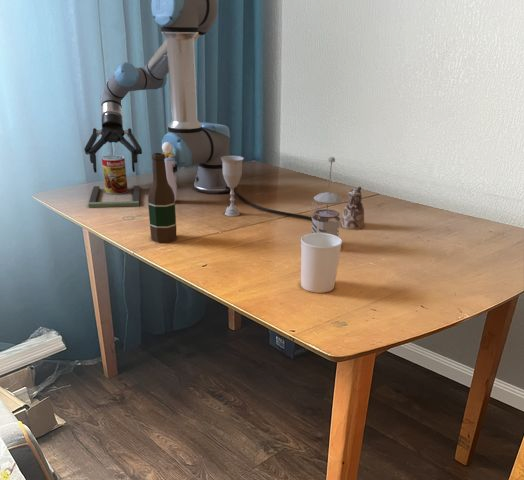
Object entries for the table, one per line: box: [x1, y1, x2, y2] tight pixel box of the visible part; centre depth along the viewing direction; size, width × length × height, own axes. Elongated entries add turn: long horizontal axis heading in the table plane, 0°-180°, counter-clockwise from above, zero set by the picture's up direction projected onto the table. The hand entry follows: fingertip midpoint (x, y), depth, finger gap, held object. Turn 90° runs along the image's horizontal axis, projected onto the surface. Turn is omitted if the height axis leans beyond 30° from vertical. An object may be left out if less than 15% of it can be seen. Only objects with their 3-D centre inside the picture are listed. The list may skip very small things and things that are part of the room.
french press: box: [310, 156, 343, 237], centre depth 154 cm, size 10×12×25 cm
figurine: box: [340, 186, 365, 230], centre depth 173 cm, size 7×7×12 cm
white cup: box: [300, 232, 343, 294], centre depth 133 cm, size 10×10×12 cm
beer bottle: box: [147, 152, 177, 244], centre depth 155 cm, size 8×8×24 cm
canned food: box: [101, 154, 129, 195], centre depth 198 cm, size 8×8×12 cm
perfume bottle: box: [161, 142, 178, 202], centre depth 187 cm, size 6×6×20 cm
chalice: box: [221, 155, 244, 217], centre depth 178 cm, size 7×7×18 cm
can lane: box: [88, 184, 141, 208], centre depth 194 cm, size 22×16×1 cm
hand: (114, 170), depth 198 cm, fingers open, 13 cm apart
